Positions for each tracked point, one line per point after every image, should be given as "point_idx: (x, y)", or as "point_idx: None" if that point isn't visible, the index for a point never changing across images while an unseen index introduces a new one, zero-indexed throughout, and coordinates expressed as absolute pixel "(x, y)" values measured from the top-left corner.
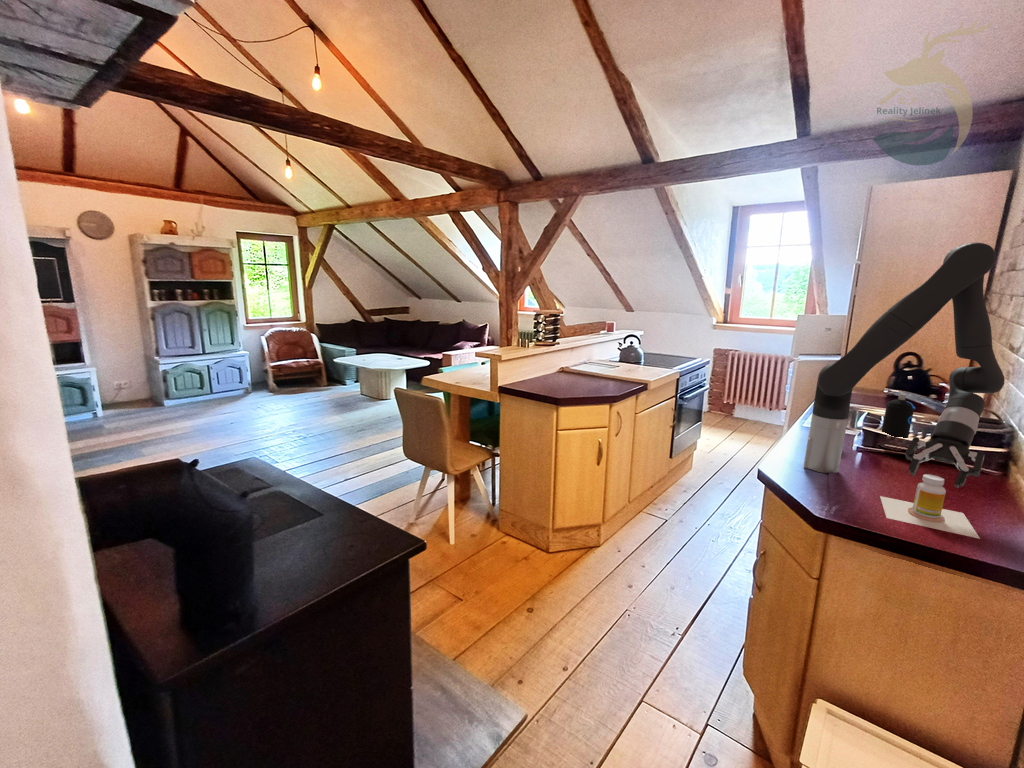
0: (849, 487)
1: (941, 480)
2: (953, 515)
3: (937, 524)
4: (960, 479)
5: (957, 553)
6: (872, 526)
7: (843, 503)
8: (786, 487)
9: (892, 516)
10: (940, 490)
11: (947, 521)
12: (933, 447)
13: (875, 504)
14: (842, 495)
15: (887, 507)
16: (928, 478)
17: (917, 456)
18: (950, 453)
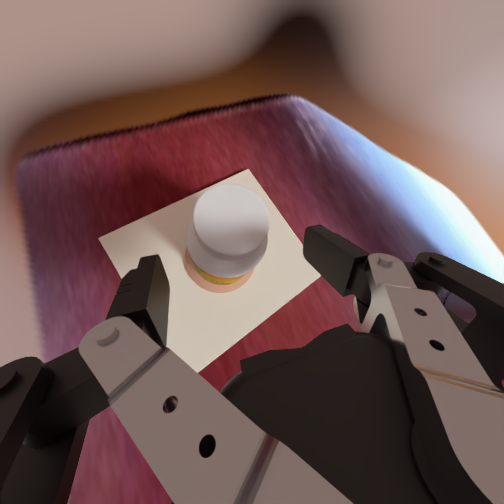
0: None
1: (196, 204)
2: (189, 331)
3: (184, 229)
4: (136, 271)
5: (111, 140)
6: (241, 127)
7: (320, 177)
8: (391, 158)
9: (247, 185)
10: (192, 215)
11: (180, 271)
12: (466, 375)
13: (300, 230)
14: (347, 213)
15: (278, 222)
16: (236, 184)
17: (388, 268)
18: (291, 449)
